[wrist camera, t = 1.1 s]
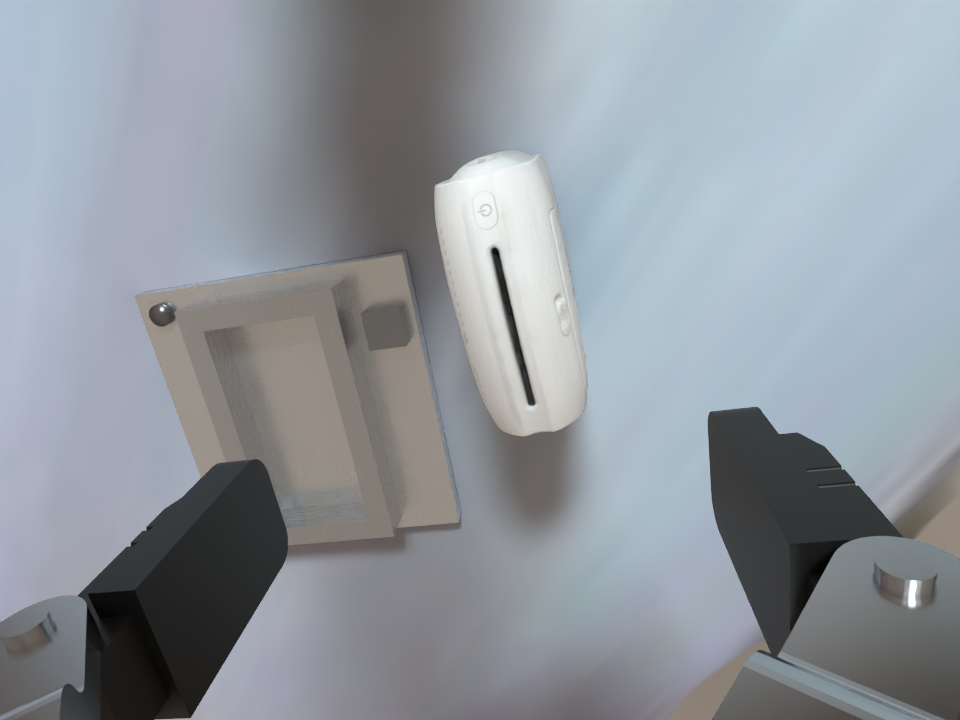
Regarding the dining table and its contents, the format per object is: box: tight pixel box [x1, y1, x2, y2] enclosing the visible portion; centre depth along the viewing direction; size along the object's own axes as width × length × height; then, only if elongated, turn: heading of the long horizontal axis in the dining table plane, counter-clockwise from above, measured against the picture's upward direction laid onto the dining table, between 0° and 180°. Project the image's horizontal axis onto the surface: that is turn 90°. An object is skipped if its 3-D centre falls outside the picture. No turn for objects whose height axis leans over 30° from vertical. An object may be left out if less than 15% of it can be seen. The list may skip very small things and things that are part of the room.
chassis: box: [135, 251, 461, 545], centre depth 34 cm, size 16×15×3 cm
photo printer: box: [434, 150, 588, 436], centre depth 26 cm, size 10×4×12 cm, turn 14°
